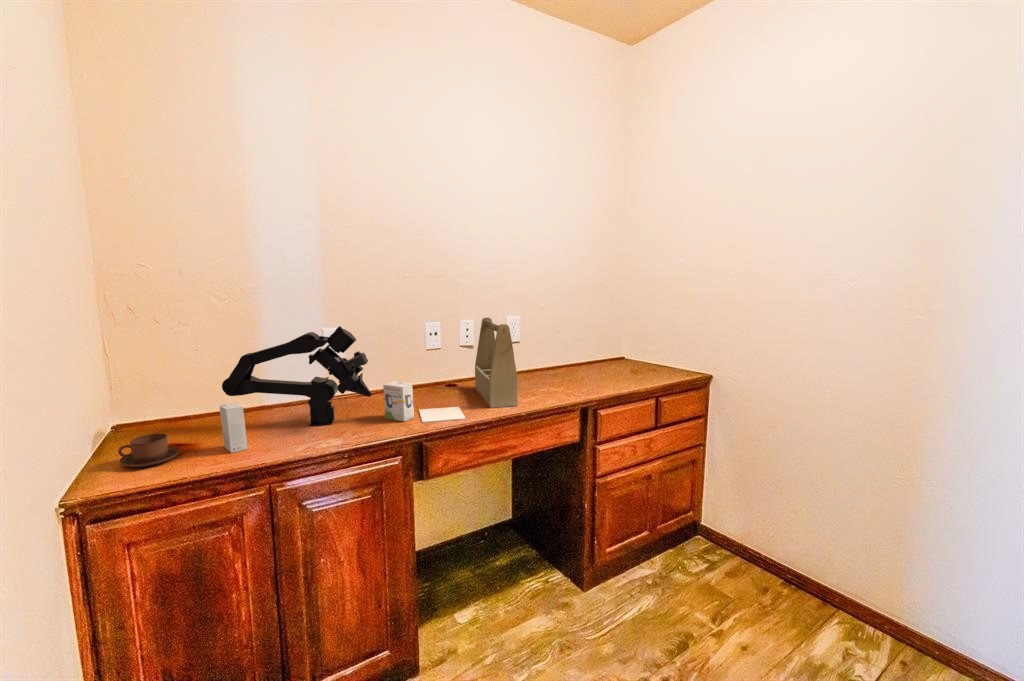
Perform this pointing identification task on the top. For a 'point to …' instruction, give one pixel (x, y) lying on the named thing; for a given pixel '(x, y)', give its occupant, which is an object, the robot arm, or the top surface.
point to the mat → (441, 414)
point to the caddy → (496, 366)
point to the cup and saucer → (148, 451)
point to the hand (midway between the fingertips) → (370, 395)
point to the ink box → (398, 401)
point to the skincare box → (233, 427)
